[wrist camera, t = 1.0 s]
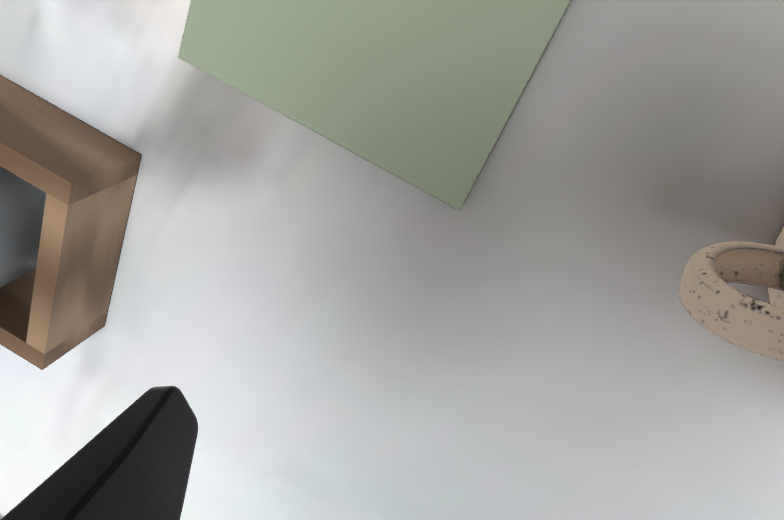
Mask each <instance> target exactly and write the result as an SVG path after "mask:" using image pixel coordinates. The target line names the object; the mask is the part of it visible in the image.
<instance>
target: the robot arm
mask: <svg viewBox="0 0 784 520" xmlns="http://www.w3.org/2000/svg"><path fill="white" fill-rule="evenodd" d="M197 434H198V423H197V419H196V416H195V414H194V413H193V411H192V409H191V408H190V406H189V404H188V402H187V401H186V399H185V397H184V395H183V394H182V392H181V391H180V389H178V388H177V387H175V386H163V387H154V388H151V389H149V390H148V391H147V392H145V393H144V394H143V395H142V396H141V397H140V398H139V399H137V400H136V401H135V402H134V403H133V404H132V405H131V406H129V407H128V408H127V409H126V410H125V411H124V412H123V413H122V414H120V415H119V416H118V417H117V418H116V419H115V420H114V421H112V422H111V423H110V424H109V425H108V426H107V427H106V428H104V429H103V430H102V431H101V432H100V433H99V434H98V435H96V436H95V437H94V438H93V439H92V440H91V441H90V442H88V443H87V444H86V445H85V446H84V447H83V448H82V449H81V450H79V451H78V452H77V453H76V454H75V455H74V456H73V457H71V458H70V459H69V460H68V461H67V462H66V463H65V464H63V465H62V466H61V467H60V468H59V469H58V470H57V471H55V472H54V473H53V474H52V475H51V476H50V477H49V478H48V479H46V480H45V481H44V482H43V483H42V484H41V485H40V486H38V487H37V488H36V489H35V490H34V491H33V492H32V493H30V494H29V495H28V496H27V497H26V498H25V499H24V500H22V501H21V502H20V503H19V504H18V505H17V506H16V507H14V508H13V509H12V510H11V511H10V512H9V513H8V514H7V515H5V516H4V517H3V518H2V519H1V520H180V516H181V512H182V508H183V503H184V498H185V493H186V488H187V483H188V478H189V473H190V468H191V464H192V459H193V454H194V449H195V444H196V439H197Z"/></svg>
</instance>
